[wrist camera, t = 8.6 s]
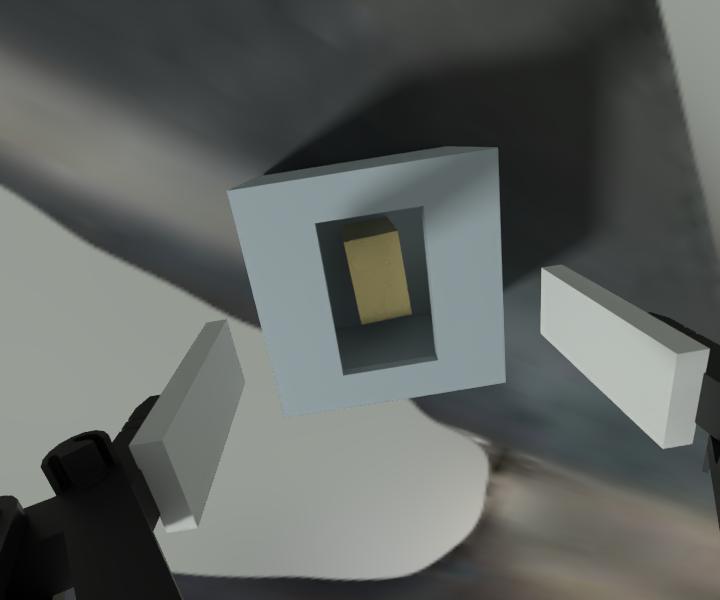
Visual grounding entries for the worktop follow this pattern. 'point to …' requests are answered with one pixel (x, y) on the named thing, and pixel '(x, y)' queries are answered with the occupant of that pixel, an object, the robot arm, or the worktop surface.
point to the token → (376, 269)
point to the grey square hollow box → (335, 288)
